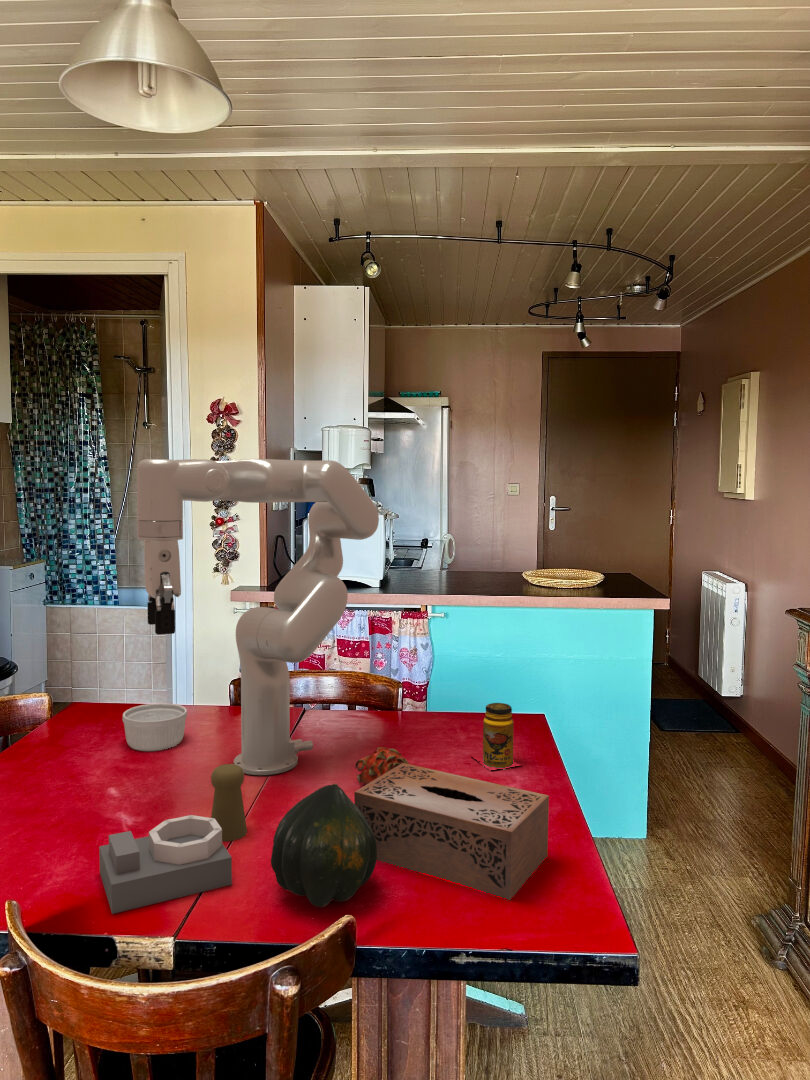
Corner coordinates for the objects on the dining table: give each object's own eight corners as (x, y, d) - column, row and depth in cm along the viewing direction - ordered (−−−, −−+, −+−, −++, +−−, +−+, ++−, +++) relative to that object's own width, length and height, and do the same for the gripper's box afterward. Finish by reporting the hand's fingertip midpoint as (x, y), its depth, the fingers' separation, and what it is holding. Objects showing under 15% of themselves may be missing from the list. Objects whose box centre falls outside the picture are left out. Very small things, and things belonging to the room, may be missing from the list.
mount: (209, 848, 120) (209, 808, 120) (231, 884, 110) (231, 840, 109) (99, 872, 113) (98, 829, 112) (112, 913, 102) (111, 866, 102)
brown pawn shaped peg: (238, 843, 122) (237, 775, 121) (202, 839, 124) (201, 772, 123) (253, 826, 128) (252, 761, 127) (218, 822, 129) (218, 758, 129)
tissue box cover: (354, 855, 119) (354, 791, 119) (402, 820, 132) (402, 762, 131) (510, 902, 106) (511, 832, 106) (547, 859, 119) (548, 795, 118)
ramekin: (200, 740, 170) (200, 709, 169) (151, 758, 159) (150, 725, 158) (159, 729, 177) (158, 699, 176) (109, 746, 166) (109, 714, 165)
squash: (265, 892, 98) (340, 792, 101) (241, 844, 112) (307, 758, 115) (346, 945, 103) (415, 848, 106) (313, 894, 116) (375, 809, 120)
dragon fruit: (411, 808, 139) (358, 802, 146) (428, 769, 145) (377, 764, 152) (390, 779, 135) (337, 774, 142) (409, 739, 141) (357, 736, 148)
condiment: (490, 772, 153) (491, 712, 152) (470, 757, 161) (471, 700, 160) (522, 767, 156) (524, 708, 155) (501, 753, 164) (502, 697, 163)
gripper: (191, 533, 128) (191, 636, 130) (174, 527, 144) (175, 619, 145) (143, 534, 125) (144, 639, 126) (131, 528, 141) (132, 621, 142)
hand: (161, 628), depth 136 cm, fingers open, 9 cm apart
